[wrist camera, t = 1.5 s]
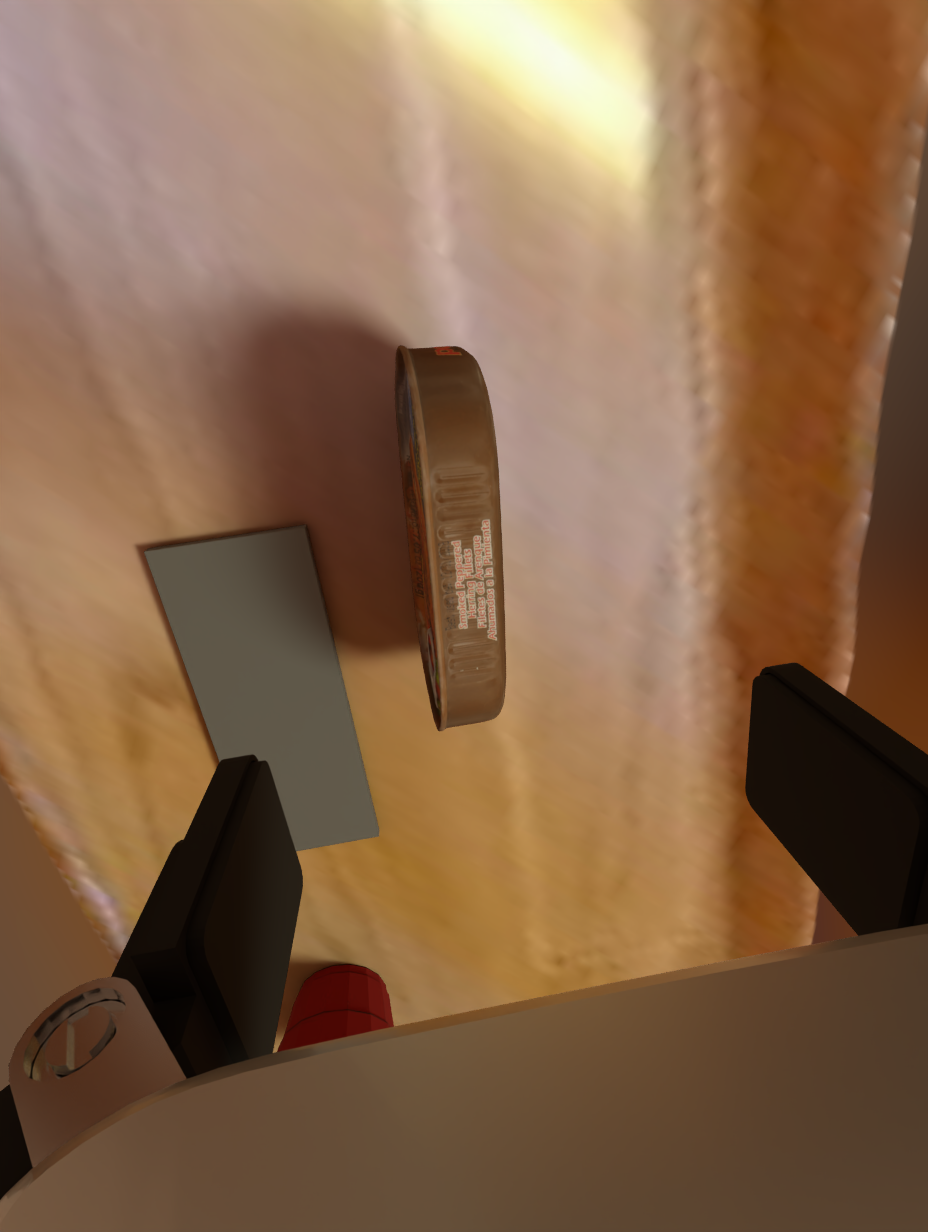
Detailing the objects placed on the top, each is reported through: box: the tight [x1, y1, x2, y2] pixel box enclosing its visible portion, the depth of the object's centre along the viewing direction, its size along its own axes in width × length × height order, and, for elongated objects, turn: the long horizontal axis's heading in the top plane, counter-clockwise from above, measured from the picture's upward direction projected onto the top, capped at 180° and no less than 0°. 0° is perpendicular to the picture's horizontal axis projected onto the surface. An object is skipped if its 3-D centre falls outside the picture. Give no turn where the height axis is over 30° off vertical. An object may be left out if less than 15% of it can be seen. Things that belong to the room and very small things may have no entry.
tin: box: [395, 346, 506, 731], centre depth 23 cm, size 15×3×8 cm, turn 3°
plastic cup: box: [277, 965, 394, 1052], centre depth 33 cm, size 11×11×12 cm
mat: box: [144, 525, 379, 851], centre depth 30 cm, size 18×7×1 cm, turn 7°
